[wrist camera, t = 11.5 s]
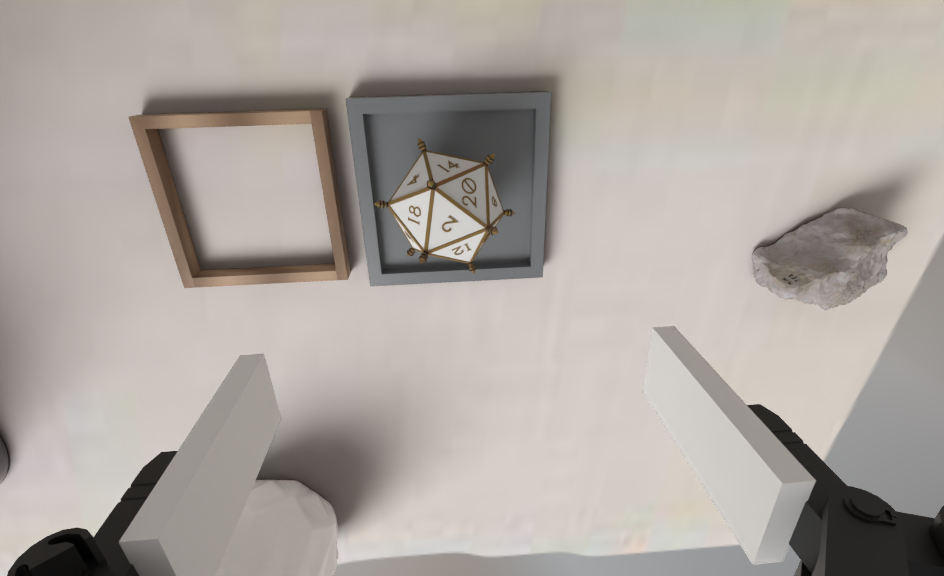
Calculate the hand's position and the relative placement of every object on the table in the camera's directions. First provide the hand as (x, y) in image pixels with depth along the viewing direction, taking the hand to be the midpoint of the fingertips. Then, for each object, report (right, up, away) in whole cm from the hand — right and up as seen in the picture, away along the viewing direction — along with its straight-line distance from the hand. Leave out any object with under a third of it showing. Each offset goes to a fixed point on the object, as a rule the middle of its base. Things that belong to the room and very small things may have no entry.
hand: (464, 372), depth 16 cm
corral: (-16, +10, +19) cm, 27 cm away
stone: (+29, +6, +25) cm, 39 cm away
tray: (-1, +10, +20) cm, 23 cm away
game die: (-2, +10, +20) cm, 22 cm away
